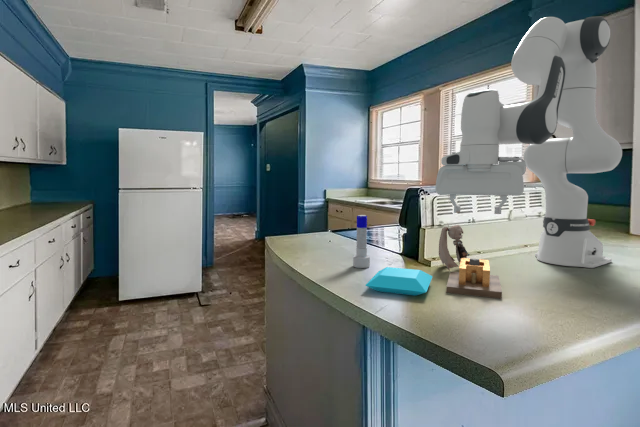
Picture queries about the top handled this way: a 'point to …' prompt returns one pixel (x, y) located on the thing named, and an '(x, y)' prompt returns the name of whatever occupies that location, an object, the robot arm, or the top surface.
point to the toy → (455, 234)
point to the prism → (400, 281)
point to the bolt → (361, 244)
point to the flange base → (474, 284)
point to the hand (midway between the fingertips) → (477, 213)
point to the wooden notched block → (481, 271)
